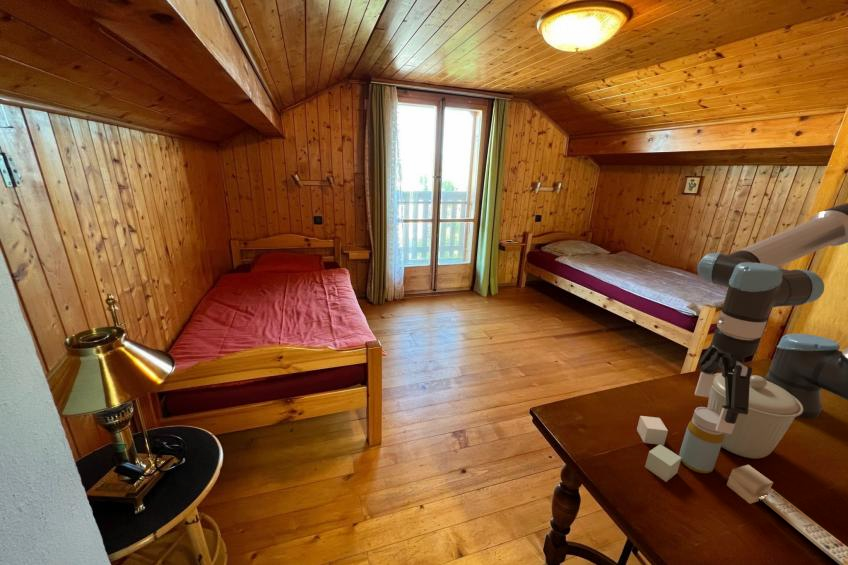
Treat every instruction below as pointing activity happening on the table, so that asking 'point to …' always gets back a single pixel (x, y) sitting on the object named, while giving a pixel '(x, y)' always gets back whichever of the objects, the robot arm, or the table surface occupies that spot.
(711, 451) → the bottle
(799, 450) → the table surface
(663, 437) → the cream cube
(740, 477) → the birch cube
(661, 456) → the sage cube
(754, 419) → the canister
